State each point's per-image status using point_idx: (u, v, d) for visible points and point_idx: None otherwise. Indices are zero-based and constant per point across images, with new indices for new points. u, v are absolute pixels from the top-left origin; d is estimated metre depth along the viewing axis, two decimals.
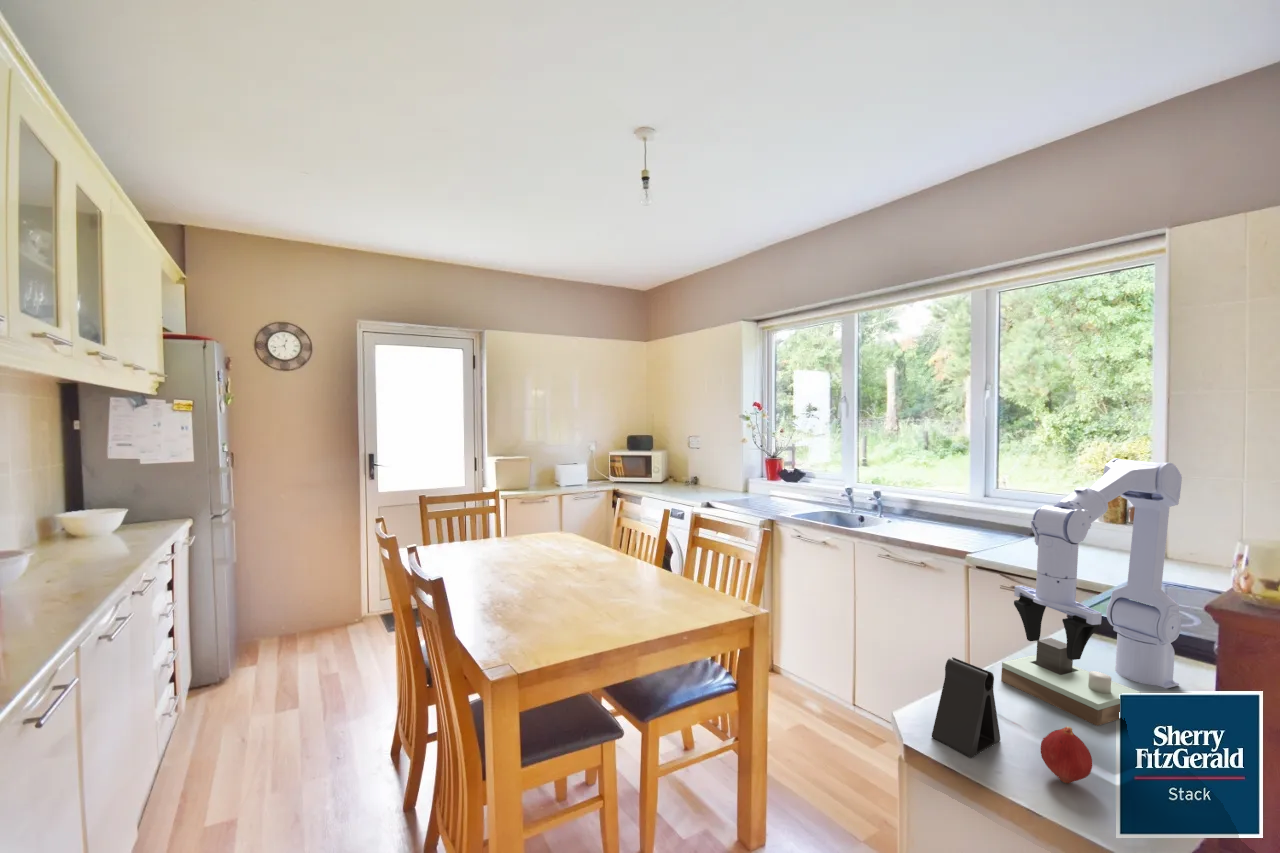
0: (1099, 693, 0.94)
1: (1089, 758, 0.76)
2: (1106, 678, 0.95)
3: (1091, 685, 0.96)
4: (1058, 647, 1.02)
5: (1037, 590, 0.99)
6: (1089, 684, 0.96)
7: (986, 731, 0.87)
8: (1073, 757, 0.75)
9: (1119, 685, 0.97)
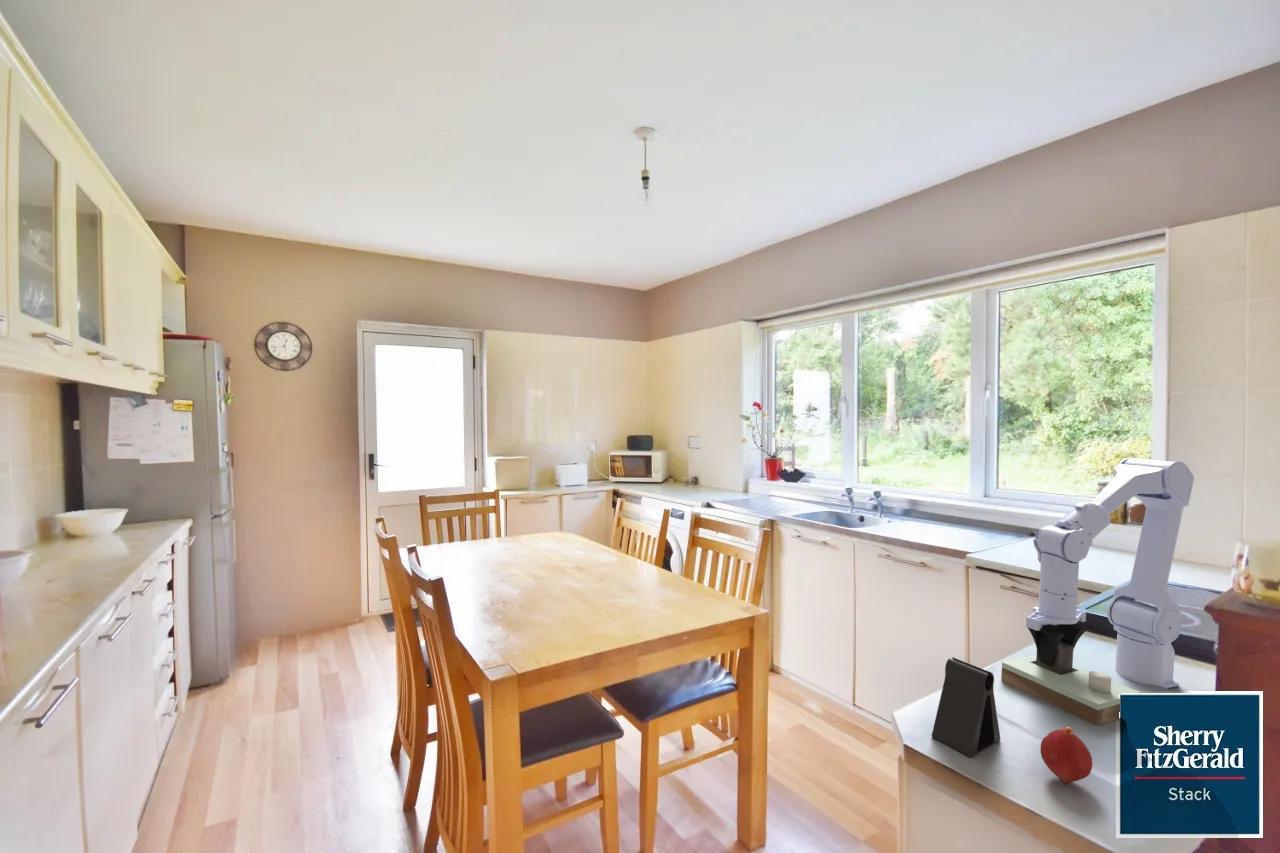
0: (1099, 693, 0.94)
1: (1089, 758, 0.76)
2: (1106, 678, 0.95)
3: (1091, 685, 0.96)
4: (1058, 647, 1.02)
5: None
6: (1089, 684, 0.96)
7: (986, 731, 0.87)
8: (1073, 757, 0.75)
9: (1119, 685, 0.97)
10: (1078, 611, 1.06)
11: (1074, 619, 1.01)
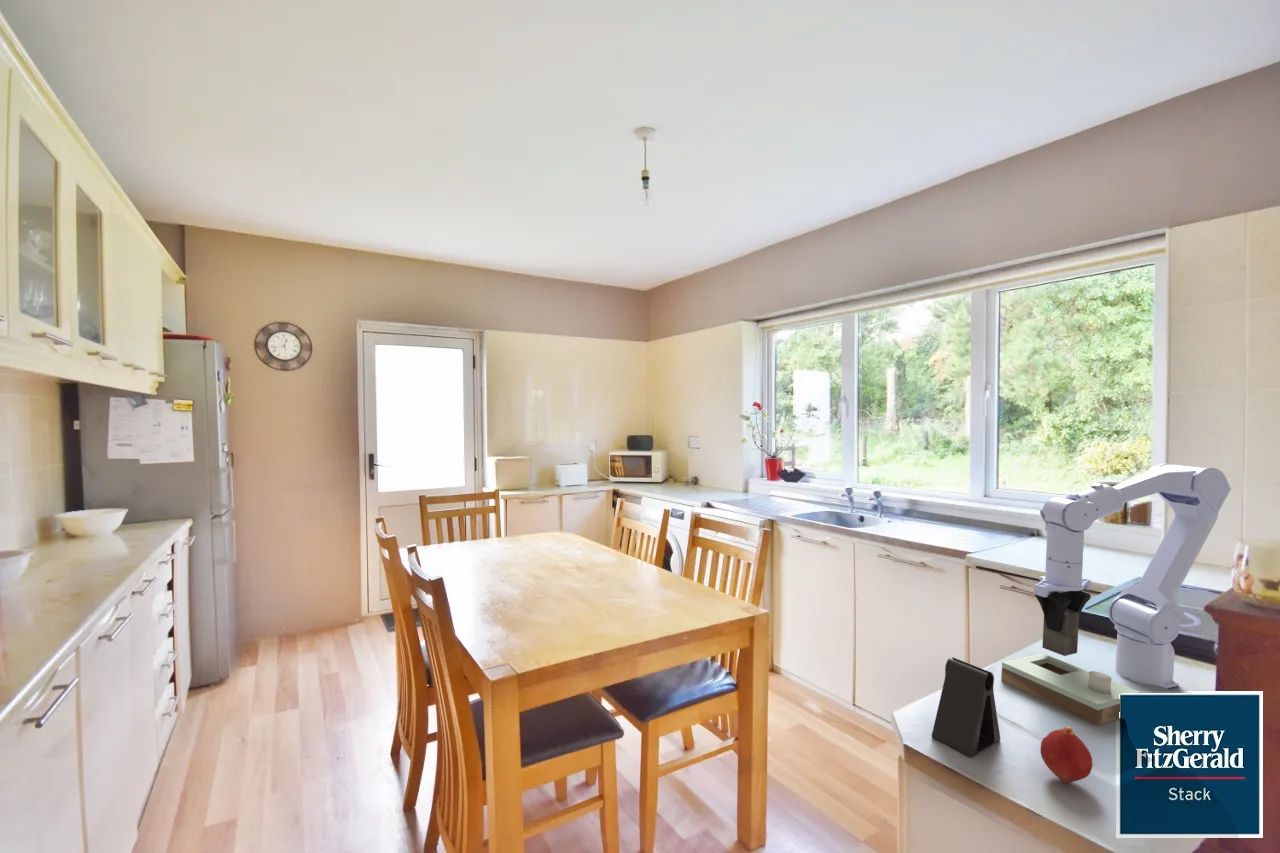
0: (1099, 693, 0.94)
1: (1089, 758, 0.76)
2: (1106, 678, 0.95)
3: (1091, 685, 0.96)
4: None
5: None
6: (1089, 684, 0.96)
7: (986, 731, 0.87)
8: (1073, 757, 0.75)
9: (1119, 685, 0.97)
10: (1083, 579, 1.10)
11: (1080, 586, 1.05)
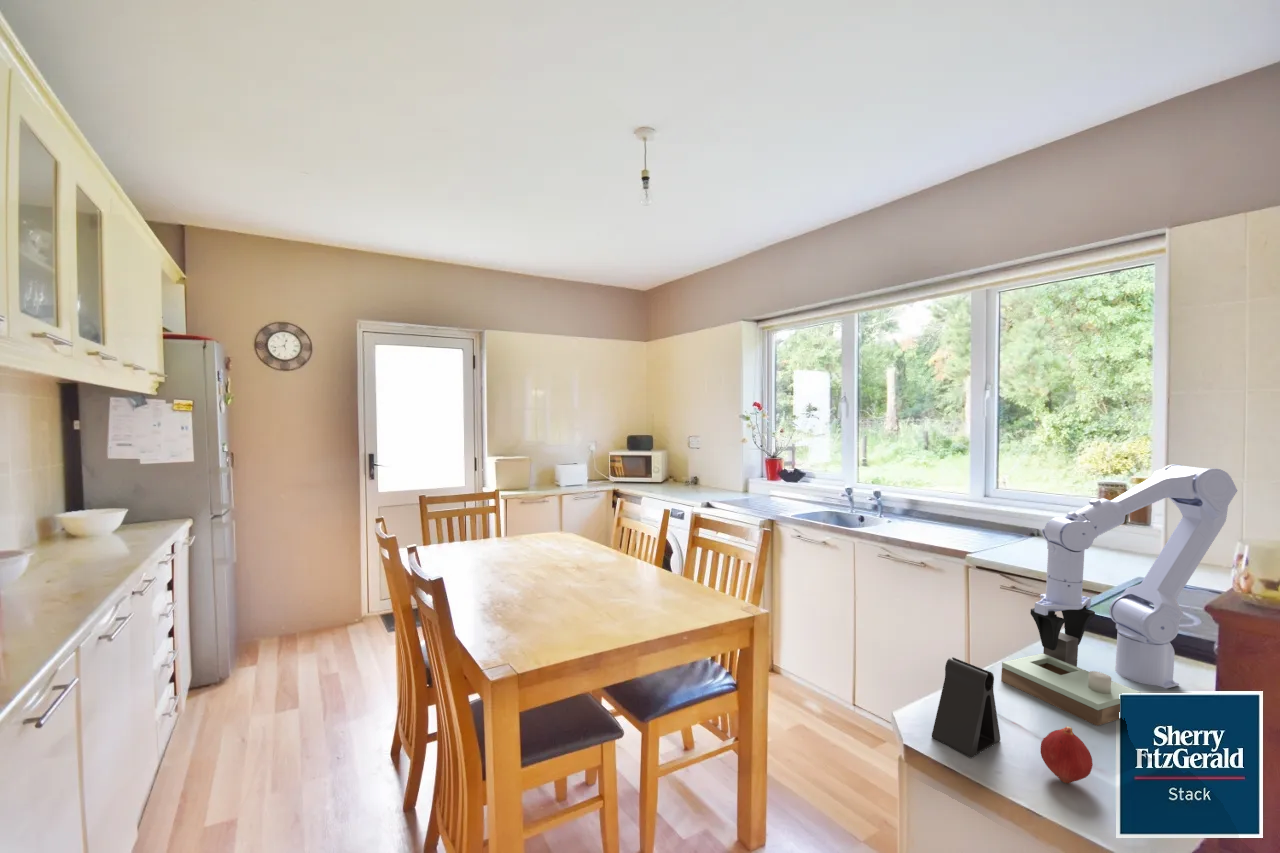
0: (1099, 693, 0.94)
1: (1089, 758, 0.76)
2: (1106, 678, 0.95)
3: (1091, 685, 0.96)
4: (1064, 640, 1.08)
5: None
6: (1089, 684, 0.96)
7: (986, 731, 0.87)
8: (1073, 757, 0.75)
9: (1119, 685, 0.97)
10: (1083, 598, 1.13)
11: (1080, 605, 1.08)
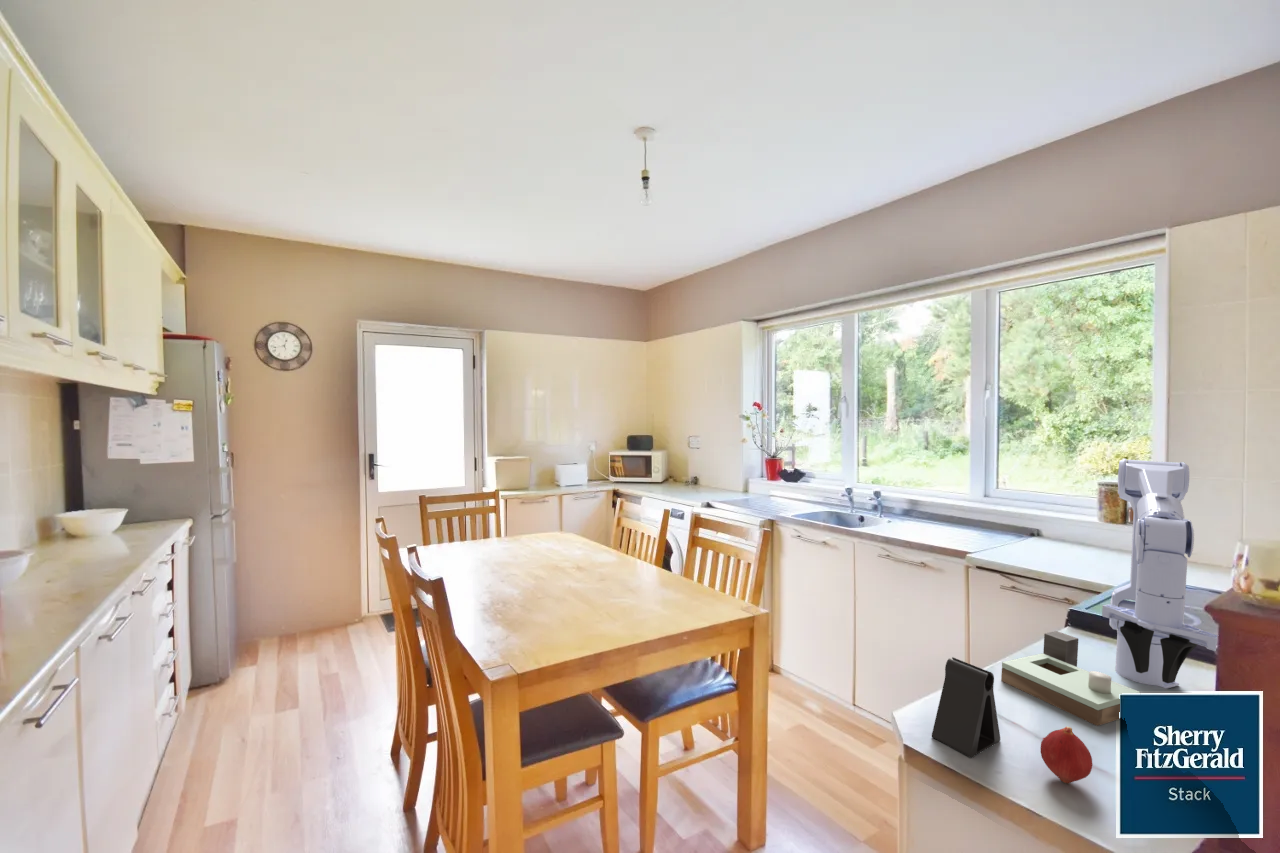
0: (1099, 693, 0.94)
1: (1089, 758, 0.76)
2: (1106, 678, 0.95)
3: (1091, 685, 0.96)
4: (1064, 640, 1.08)
5: (1139, 611, 0.89)
6: (1089, 684, 0.96)
7: (986, 731, 0.87)
8: (1073, 757, 0.75)
9: (1119, 685, 0.97)
10: None
11: None
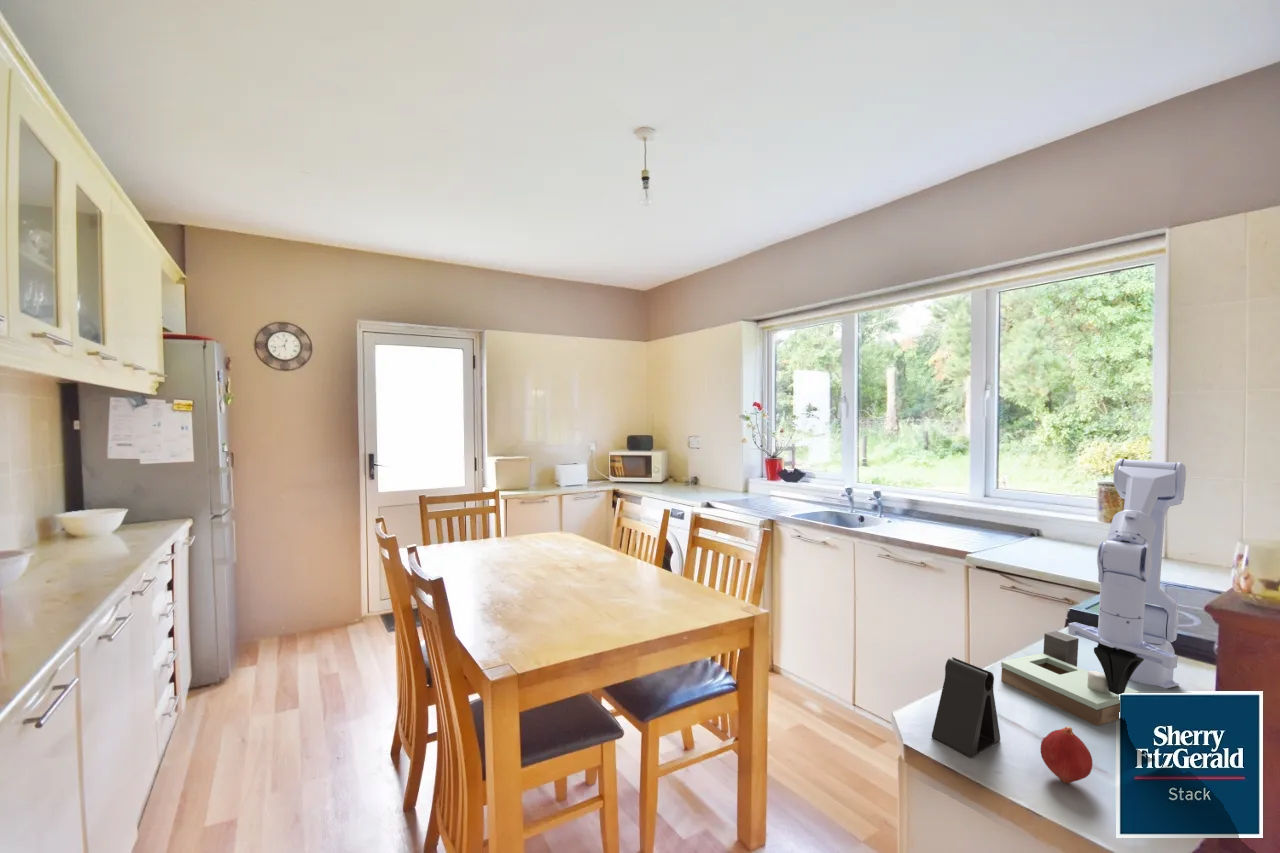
0: (1098, 692, 0.94)
1: (1089, 758, 0.76)
2: (1105, 677, 0.95)
3: (1090, 685, 0.96)
4: (1064, 640, 1.08)
5: (1102, 630, 0.93)
6: (1088, 684, 0.96)
7: (986, 731, 0.87)
8: (1073, 757, 0.75)
9: None
10: None
11: None
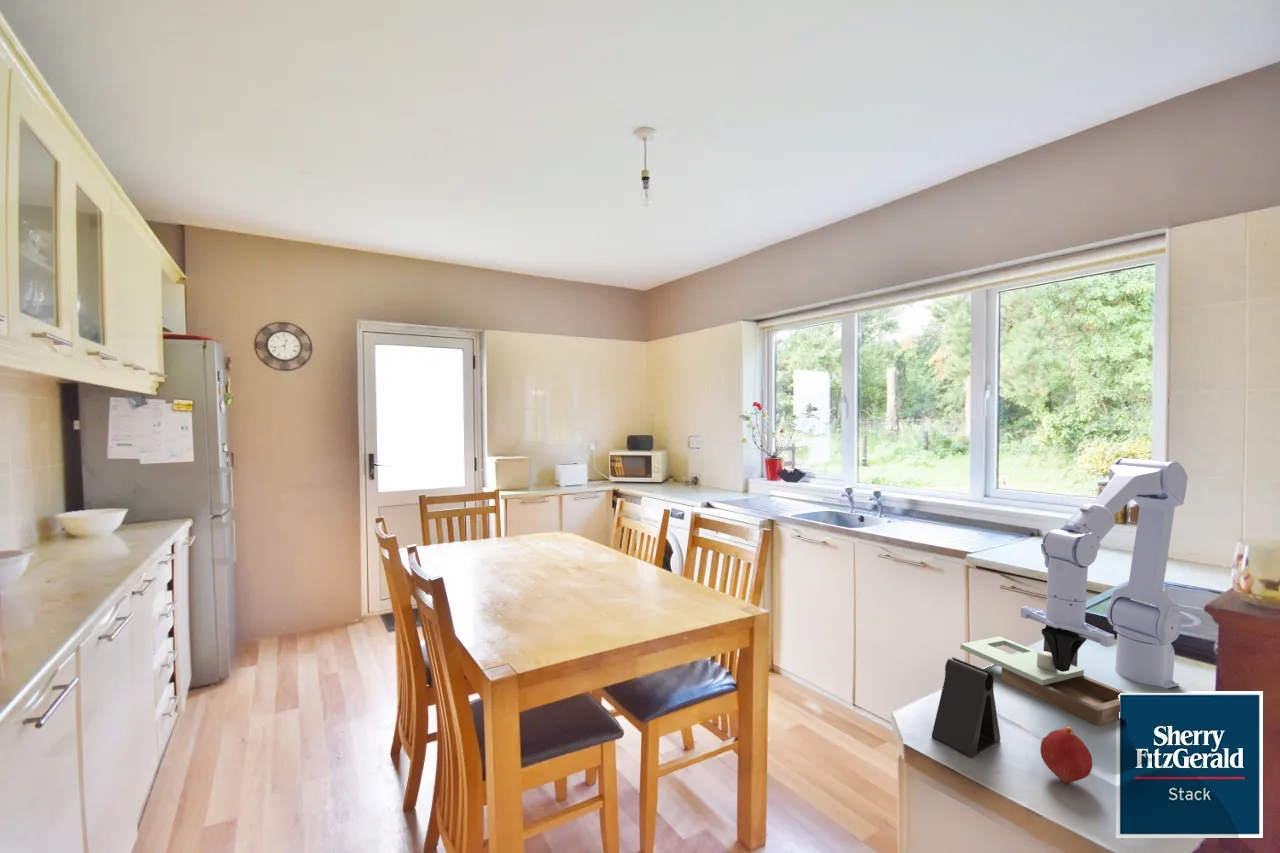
0: (1045, 670, 1.02)
1: (1089, 758, 0.76)
2: None
3: (1039, 663, 1.04)
4: None
5: (1048, 612, 1.01)
6: (1037, 662, 1.04)
7: (986, 731, 0.87)
8: (1073, 757, 0.75)
9: None
10: None
11: None
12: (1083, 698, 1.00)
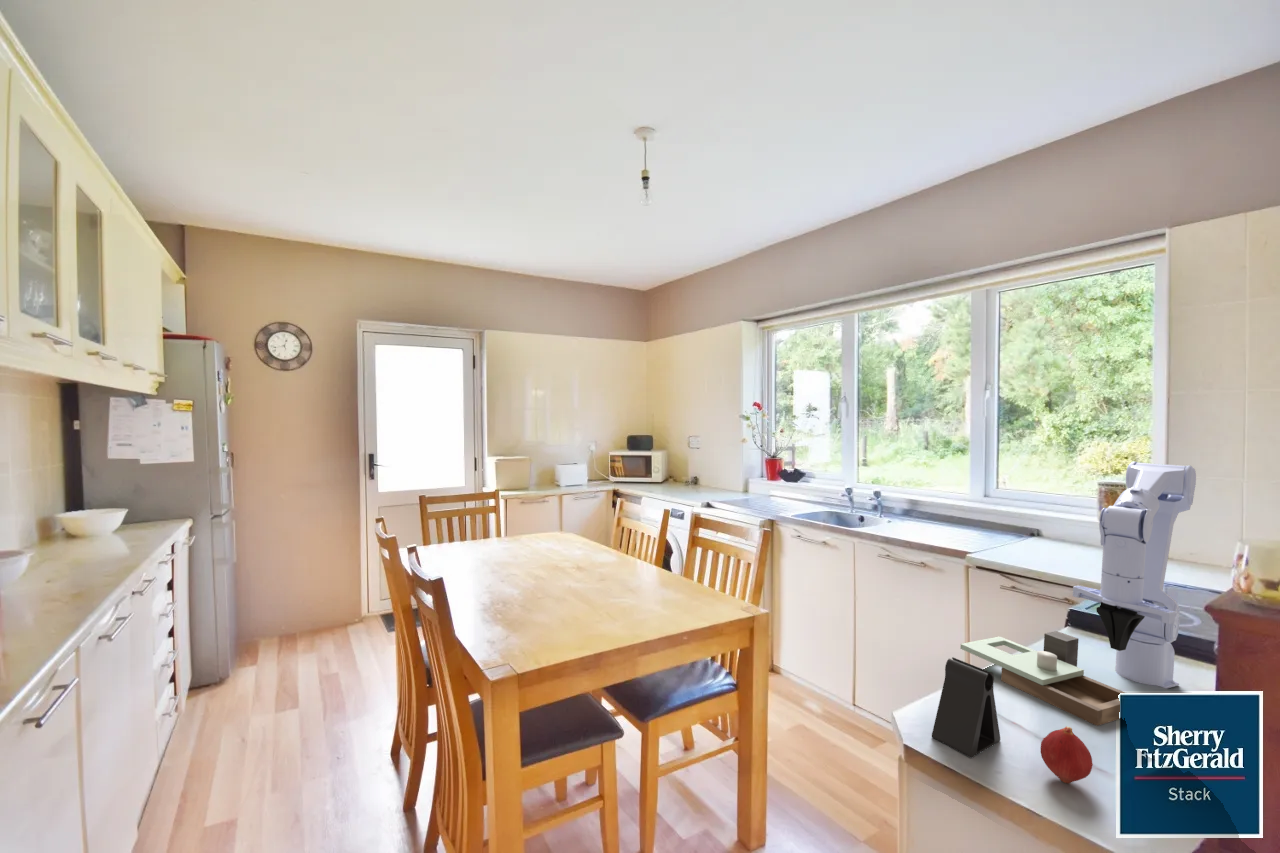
0: (1045, 670, 1.02)
1: (1089, 758, 0.76)
2: (1052, 656, 1.03)
3: (1039, 663, 1.04)
4: (1064, 640, 1.08)
5: (1104, 590, 0.99)
6: (1037, 662, 1.04)
7: (986, 731, 0.87)
8: (1073, 757, 0.75)
9: (1065, 664, 1.05)
10: None
11: None
12: (1083, 698, 1.00)
